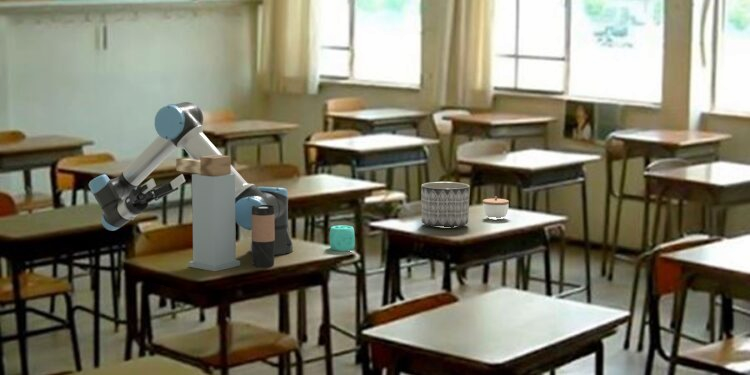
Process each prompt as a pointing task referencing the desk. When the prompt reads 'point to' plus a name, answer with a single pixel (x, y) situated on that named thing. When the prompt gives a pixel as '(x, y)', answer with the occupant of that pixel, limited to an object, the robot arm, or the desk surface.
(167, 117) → the robot arm
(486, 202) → the lidded jar
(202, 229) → the pedestal
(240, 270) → the desk surface
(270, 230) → the travel mug
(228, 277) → the desk surface
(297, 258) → the desk surface
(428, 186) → the planter
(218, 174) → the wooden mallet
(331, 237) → the decorative dice
